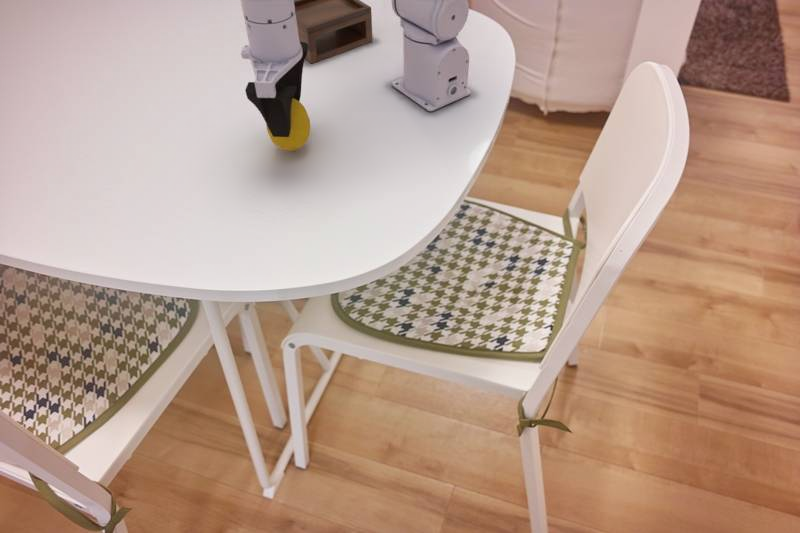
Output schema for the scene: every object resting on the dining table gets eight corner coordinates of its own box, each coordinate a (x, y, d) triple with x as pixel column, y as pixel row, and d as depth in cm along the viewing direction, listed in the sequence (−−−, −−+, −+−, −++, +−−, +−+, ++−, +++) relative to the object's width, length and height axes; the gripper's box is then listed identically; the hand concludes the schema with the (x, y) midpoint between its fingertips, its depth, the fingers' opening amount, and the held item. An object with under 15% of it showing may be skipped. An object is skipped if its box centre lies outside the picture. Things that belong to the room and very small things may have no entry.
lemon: (318, 157, 81) (311, 104, 75) (277, 166, 79) (267, 113, 73) (306, 134, 84) (299, 82, 78) (267, 143, 83) (256, 90, 77)
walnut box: (372, 41, 102) (371, 7, 98) (311, 63, 97) (307, 28, 93) (339, 20, 108) (337, -14, 103) (280, 40, 103) (274, 5, 98)
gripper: (248, -16, 73) (266, 86, 83) (217, 43, 63) (243, 151, 73) (306, -15, 73) (318, 88, 83) (285, 44, 63) (301, 152, 73)
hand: (286, 117), depth 78 cm, fingers open, 7 cm apart
